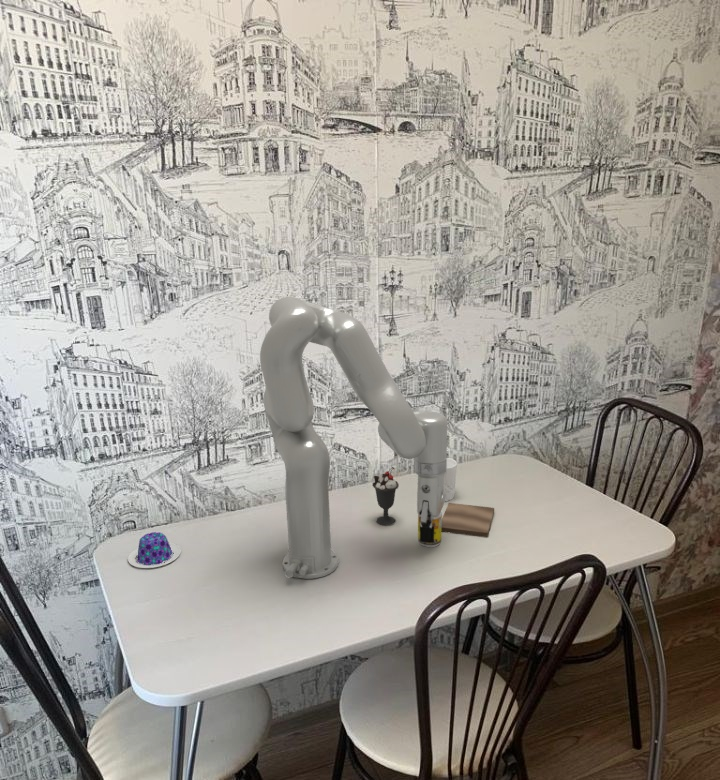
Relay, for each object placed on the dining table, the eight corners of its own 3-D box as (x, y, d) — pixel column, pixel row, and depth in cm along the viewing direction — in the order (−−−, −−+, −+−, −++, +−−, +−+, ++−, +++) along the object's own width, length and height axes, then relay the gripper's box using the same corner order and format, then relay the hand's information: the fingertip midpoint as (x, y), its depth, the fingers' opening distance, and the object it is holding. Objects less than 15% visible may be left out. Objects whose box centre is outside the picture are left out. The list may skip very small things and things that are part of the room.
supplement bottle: (415, 545, 162) (415, 506, 159) (421, 535, 167) (421, 497, 164) (437, 549, 160) (438, 510, 157) (444, 538, 165) (444, 500, 162)
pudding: (135, 576, 153) (132, 555, 151) (123, 553, 163) (120, 533, 161) (187, 561, 158) (185, 540, 157) (172, 539, 168) (170, 520, 167)
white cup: (428, 489, 192) (428, 456, 190) (456, 490, 191) (456, 457, 188) (426, 502, 185) (426, 467, 182) (456, 503, 184) (456, 468, 181)
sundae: (403, 523, 173) (403, 469, 169) (379, 529, 171) (378, 473, 166) (392, 513, 179) (392, 460, 175) (369, 518, 177) (368, 464, 172)
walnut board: (487, 537, 165) (487, 532, 165) (438, 531, 169) (438, 526, 169) (494, 512, 178) (494, 507, 178) (448, 506, 182) (448, 502, 181)
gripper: (439, 481, 149) (438, 555, 154) (452, 453, 165) (451, 521, 170) (405, 478, 151) (406, 550, 156) (422, 450, 167) (422, 517, 172)
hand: (429, 534), depth 163 cm, fingers closed on supplement bottle, 5 cm apart
